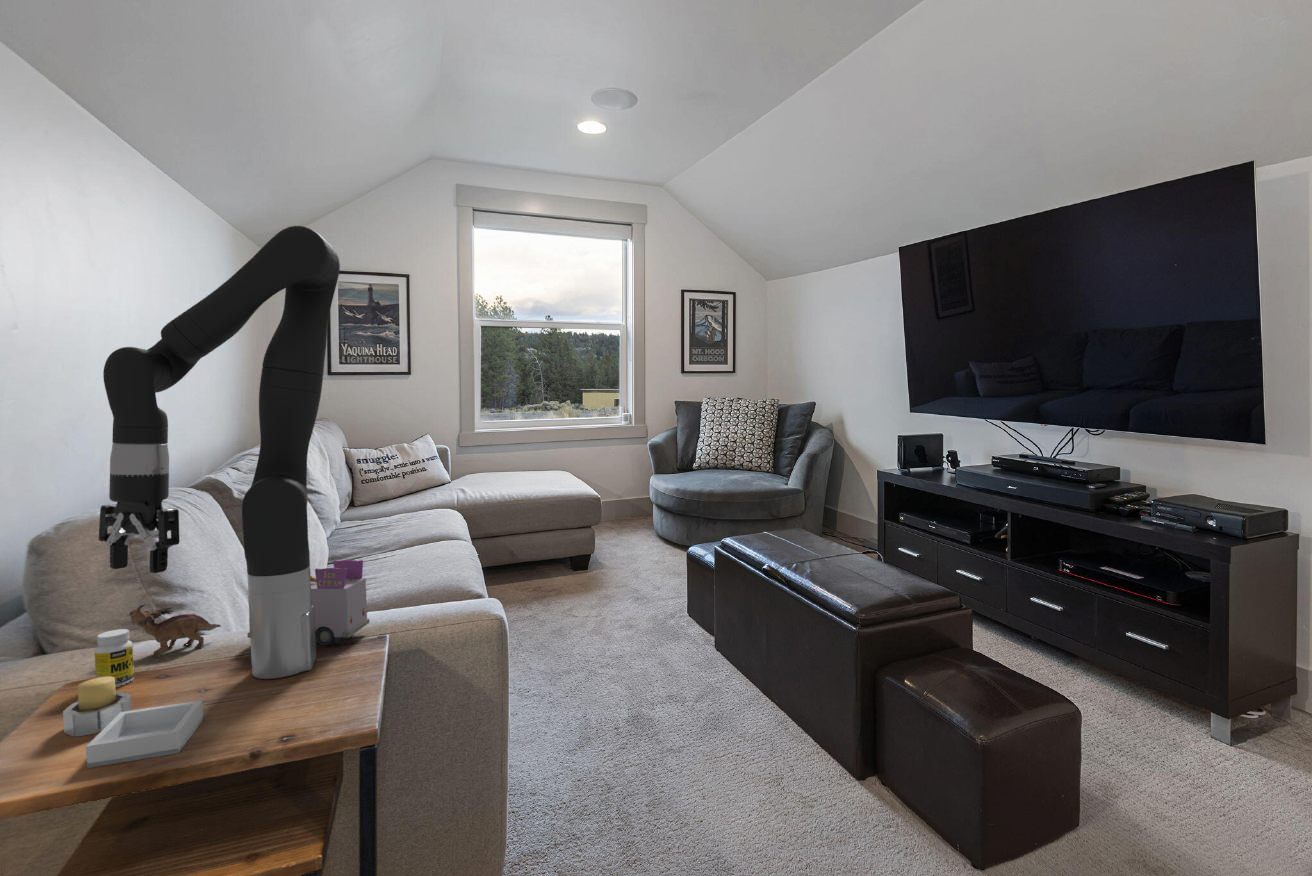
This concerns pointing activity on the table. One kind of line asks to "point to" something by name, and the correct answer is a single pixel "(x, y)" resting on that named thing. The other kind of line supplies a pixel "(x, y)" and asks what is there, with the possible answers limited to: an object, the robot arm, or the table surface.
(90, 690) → the yellow rounded lump
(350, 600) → the toy vehicle
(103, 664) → the supplement bottle
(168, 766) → the table surface
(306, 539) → the robot arm
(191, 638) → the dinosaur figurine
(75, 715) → the socket
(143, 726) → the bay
